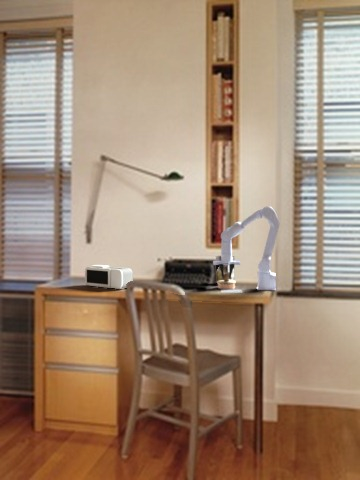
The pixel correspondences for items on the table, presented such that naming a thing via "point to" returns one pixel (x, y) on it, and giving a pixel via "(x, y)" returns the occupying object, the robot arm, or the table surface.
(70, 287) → the table surface
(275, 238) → the robot arm
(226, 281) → the lid
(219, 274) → the coffee box
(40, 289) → the table surface
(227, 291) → the mat
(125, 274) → the alarm clock
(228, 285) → the bowl
